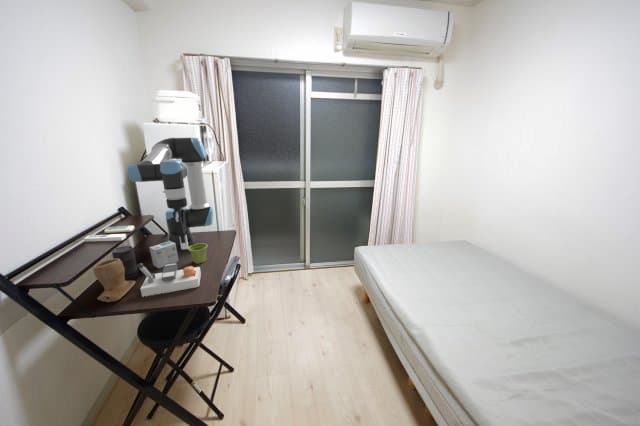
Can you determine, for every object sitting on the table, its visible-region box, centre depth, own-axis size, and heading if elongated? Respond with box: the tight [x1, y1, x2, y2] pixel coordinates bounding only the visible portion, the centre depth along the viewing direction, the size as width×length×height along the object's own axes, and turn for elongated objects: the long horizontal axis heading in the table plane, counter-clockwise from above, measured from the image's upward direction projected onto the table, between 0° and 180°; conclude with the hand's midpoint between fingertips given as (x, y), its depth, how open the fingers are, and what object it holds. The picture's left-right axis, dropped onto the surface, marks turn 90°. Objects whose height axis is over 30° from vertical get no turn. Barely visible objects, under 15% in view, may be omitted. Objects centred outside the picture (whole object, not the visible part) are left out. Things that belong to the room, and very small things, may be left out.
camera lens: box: [111, 245, 139, 281], centre depth 122 cm, size 8×8×15 cm
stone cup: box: [93, 258, 136, 303], centre depth 109 cm, size 15×12×15 cm
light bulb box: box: [149, 240, 179, 270], centre depth 136 cm, size 11×7×11 cm, turn 145°
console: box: [139, 266, 202, 298], centre depth 117 cm, size 12×22×6 cm, turn 110°
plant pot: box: [187, 242, 208, 265], centre depth 138 cm, size 9×9×9 cm
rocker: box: [162, 261, 178, 281], centre depth 115 cm, size 9×5×2 cm, turn 21°
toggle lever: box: [137, 262, 154, 278], centre depth 112 cm, size 3×2×9 cm
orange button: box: [182, 265, 195, 278], centre depth 119 cm, size 4×4×6 cm
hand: (185, 248), depth 115 cm, fingers closed
